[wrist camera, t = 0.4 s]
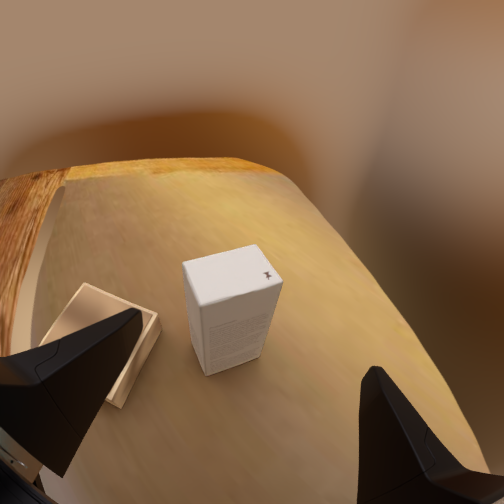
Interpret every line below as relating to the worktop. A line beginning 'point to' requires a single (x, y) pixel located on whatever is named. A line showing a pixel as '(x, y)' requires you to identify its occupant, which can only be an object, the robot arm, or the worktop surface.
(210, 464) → the worktop surface
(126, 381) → the plinth
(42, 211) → the worktop surface
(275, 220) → the worktop surface
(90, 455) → the worktop surface
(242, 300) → the skincare box
